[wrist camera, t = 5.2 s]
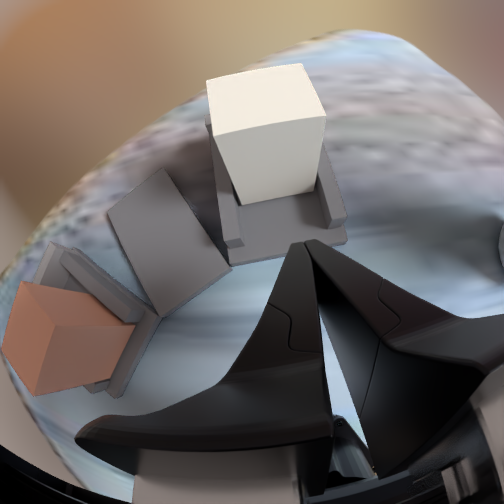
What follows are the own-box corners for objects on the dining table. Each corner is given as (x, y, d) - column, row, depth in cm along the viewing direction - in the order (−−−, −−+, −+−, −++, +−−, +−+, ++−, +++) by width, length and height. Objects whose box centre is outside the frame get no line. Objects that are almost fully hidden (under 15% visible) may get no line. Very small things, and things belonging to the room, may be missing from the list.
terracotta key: (135, 325, 18) (55, 325, 10) (109, 377, 17) (33, 396, 9) (99, 295, 19) (21, 280, 11) (77, 346, 18) (1, 349, 10)
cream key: (313, 191, 18) (326, 115, 11) (242, 205, 19) (213, 136, 11) (299, 144, 19) (301, 63, 12) (233, 157, 20) (206, 80, 12)
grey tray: (387, 210, 19) (406, 187, 15) (91, 413, 18) (63, 424, 14) (280, 101, 22) (278, 69, 18) (37, 289, 21) (9, 283, 17)
